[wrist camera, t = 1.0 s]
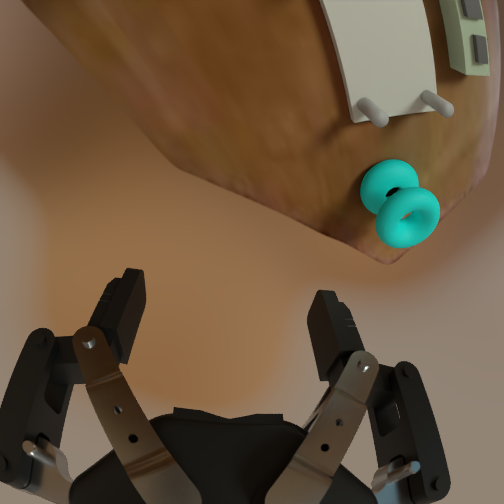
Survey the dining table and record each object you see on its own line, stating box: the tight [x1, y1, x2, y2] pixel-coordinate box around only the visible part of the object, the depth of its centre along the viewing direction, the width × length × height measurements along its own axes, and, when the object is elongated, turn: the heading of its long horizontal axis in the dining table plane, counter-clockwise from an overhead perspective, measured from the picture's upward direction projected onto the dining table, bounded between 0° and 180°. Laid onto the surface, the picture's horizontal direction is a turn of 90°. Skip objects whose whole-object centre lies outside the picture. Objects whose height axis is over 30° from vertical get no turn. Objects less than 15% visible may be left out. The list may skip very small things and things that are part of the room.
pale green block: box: [439, 0, 490, 76], centre depth 16 cm, size 14×5×5 cm, turn 19°
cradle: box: [319, 0, 454, 127], centre depth 19 cm, size 24×13×6 cm, turn 19°
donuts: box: [360, 159, 440, 248], centre depth 35 cm, size 10×10×10 cm
